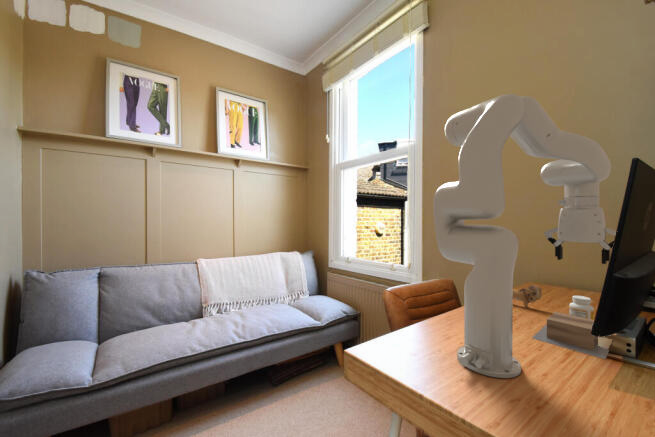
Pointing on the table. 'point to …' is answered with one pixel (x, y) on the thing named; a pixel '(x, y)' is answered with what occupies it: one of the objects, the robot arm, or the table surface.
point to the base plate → (595, 352)
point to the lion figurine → (528, 294)
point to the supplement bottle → (581, 307)
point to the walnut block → (571, 330)
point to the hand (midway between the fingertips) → (581, 261)
